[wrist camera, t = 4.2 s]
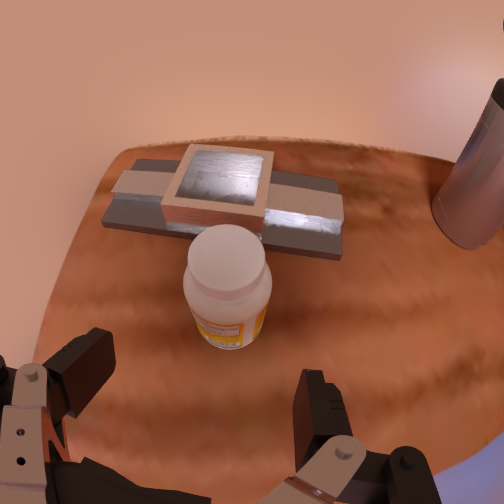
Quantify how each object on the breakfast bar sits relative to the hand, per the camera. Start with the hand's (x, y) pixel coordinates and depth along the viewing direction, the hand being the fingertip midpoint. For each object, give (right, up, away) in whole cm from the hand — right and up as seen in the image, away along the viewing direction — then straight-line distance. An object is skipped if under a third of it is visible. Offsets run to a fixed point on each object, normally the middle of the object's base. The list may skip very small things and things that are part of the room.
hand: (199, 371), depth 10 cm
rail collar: (-1, +10, +18) cm, 21 cm away
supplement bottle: (0, -1, +12) cm, 12 cm away
